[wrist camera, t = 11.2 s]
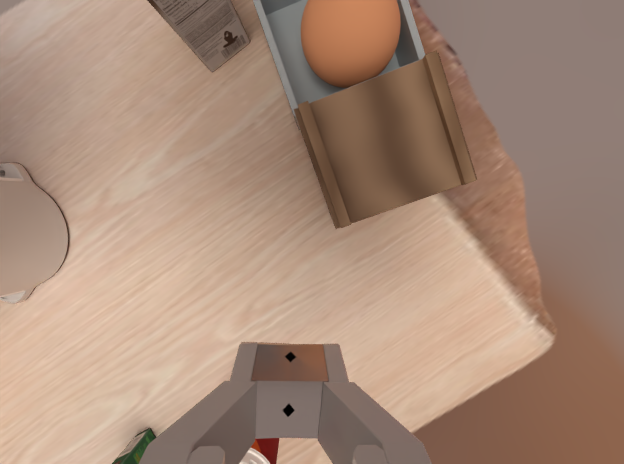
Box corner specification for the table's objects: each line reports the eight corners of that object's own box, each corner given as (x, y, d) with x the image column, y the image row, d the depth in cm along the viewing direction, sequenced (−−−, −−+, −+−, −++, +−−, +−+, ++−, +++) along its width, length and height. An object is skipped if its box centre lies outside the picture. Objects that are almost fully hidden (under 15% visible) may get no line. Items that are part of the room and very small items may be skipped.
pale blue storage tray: (299, 130, 36) (293, 116, 30) (258, 14, 35) (244, -24, 29) (410, 87, 35) (428, 64, 29) (372, -34, 34) (382, -84, 28)
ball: (269, -8, 26) (291, 62, 36) (342, 73, 25) (343, 121, 35) (357, -89, 25) (354, 5, 35) (436, -10, 24) (410, 64, 34)
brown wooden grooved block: (333, 222, 37) (336, 229, 28) (301, 131, 36) (292, 106, 27) (439, 184, 36) (481, 178, 26) (409, 90, 35) (441, 48, 26)
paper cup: (264, 356, 40) (231, 440, 26) (303, 395, 40) (291, 499, 26) (224, 392, 41) (172, 492, 27) (263, 430, 41) (231, 548, 27)
